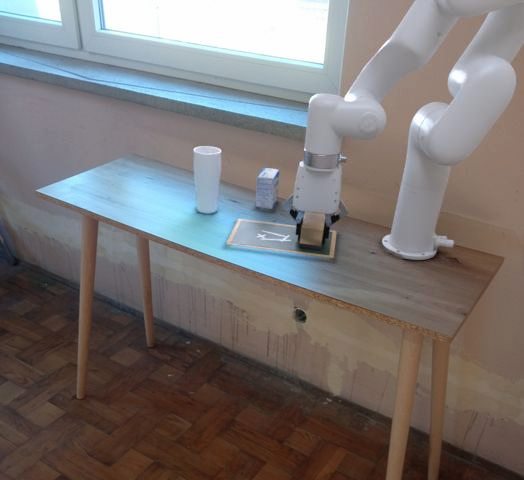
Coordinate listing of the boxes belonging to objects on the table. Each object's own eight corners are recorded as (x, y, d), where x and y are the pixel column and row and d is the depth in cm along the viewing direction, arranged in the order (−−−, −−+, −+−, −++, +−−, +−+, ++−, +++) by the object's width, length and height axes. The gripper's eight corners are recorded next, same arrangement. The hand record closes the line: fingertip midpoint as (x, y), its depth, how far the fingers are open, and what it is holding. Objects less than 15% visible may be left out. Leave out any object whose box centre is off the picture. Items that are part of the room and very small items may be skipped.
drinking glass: (224, 214, 139) (225, 153, 131) (197, 216, 137) (197, 155, 128) (215, 204, 144) (216, 145, 136) (190, 206, 142) (189, 146, 133)
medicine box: (271, 212, 143) (274, 178, 138) (254, 210, 143) (256, 176, 138) (277, 201, 149) (280, 169, 144) (261, 199, 150) (263, 167, 144)
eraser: (323, 233, 131) (326, 212, 129) (320, 251, 123) (323, 229, 120) (303, 230, 132) (305, 210, 129) (299, 248, 124) (301, 227, 121)
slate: (336, 234, 134) (336, 230, 133) (333, 262, 122) (333, 257, 121) (238, 222, 136) (238, 218, 135) (225, 248, 124) (225, 243, 123)
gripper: (361, 158, 119) (349, 237, 130) (283, 149, 121) (277, 228, 131) (361, 168, 113) (348, 250, 124) (278, 159, 115) (272, 241, 125)
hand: (311, 238), depth 127 cm, fingers closed on eraser, 4 cm apart
